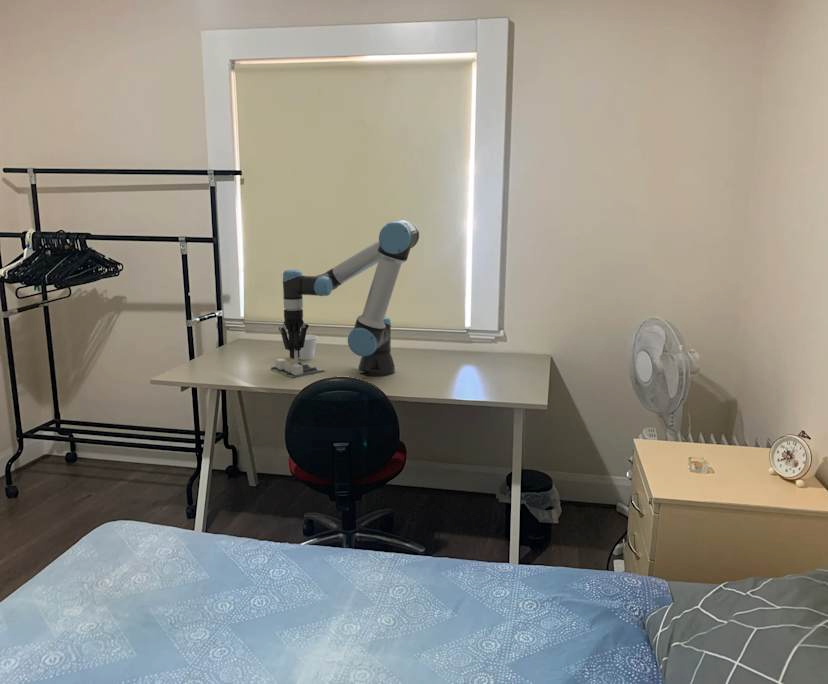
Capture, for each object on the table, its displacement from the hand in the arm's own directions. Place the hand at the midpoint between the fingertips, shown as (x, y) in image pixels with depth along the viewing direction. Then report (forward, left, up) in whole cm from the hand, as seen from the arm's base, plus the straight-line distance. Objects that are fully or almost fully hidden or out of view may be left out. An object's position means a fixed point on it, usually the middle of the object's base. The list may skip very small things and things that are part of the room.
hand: (294, 365), depth 282 cm
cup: (+15, -15, -4) cm, 22 cm away
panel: (0, -1, -4) cm, 4 cm away
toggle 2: (0, +2, -2) cm, 3 cm away
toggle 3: (-6, +3, -2) cm, 7 cm away
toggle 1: (+6, +3, -2) cm, 7 cm away
